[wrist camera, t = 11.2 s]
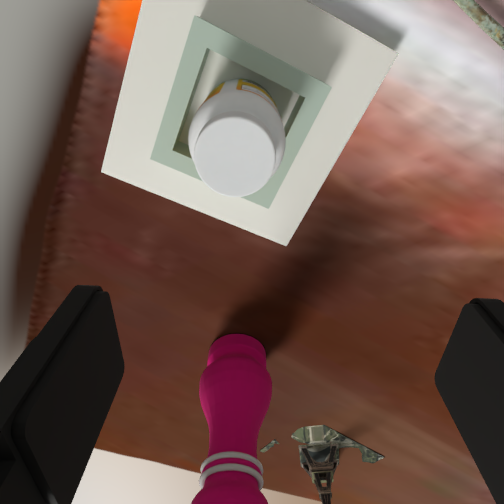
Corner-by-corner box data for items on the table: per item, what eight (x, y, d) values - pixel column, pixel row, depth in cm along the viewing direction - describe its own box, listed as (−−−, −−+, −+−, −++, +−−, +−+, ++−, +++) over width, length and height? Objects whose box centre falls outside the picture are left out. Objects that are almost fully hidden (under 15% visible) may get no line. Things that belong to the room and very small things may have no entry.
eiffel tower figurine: (385, 452, 50) (424, 575, 39) (334, 482, 54) (356, 600, 43) (306, 411, 46) (324, 537, 34) (257, 447, 50) (258, 570, 38)
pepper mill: (194, 337, 38) (147, 583, 21) (259, 322, 37) (266, 569, 20) (217, 380, 42) (193, 621, 25) (277, 368, 41) (295, 611, 24)
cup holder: (166, -77, 21) (151, -97, 18) (392, 52, 24) (413, 55, 21) (106, 166, 28) (88, 183, 25) (285, 239, 32) (289, 261, 29)
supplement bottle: (211, 162, 27) (193, 218, 19) (194, 85, 24) (163, 111, 16) (282, 150, 27) (296, 202, 18) (272, 70, 24) (283, 89, 16)
